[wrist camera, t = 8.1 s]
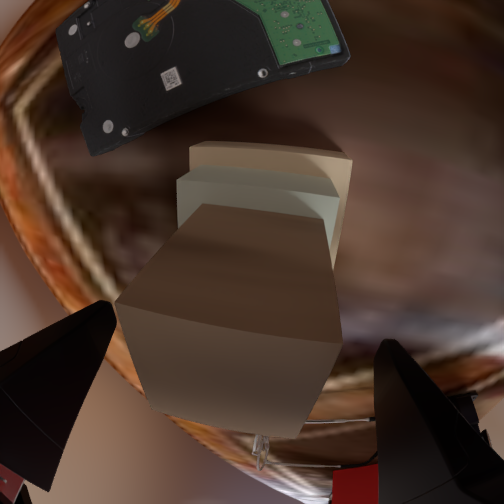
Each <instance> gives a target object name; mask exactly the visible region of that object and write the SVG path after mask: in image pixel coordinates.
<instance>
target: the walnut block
mask: <svg viewBox="0 0 504 504" xmlns="http://www.w3.org/2000/svg"><path fill="white" fill-rule="evenodd" d="M115 306H116V310H117V313H118V317H119V320H120V324H121V327H122V330H123V334H124V337H125V340H126V343H127V346H128V349H129V352H130V355H131V358H132V361H133V364H134V366H135V369H136V372H137V374H138V377H139V380H140V382H141V385H142V387H143V390H144V392H145V395H146V397H147V400H148V402H149V404H150V407H151V409H152V410H155V411H158V412H161V413H164V414H167V415H171V416H174V417H178V418H181V419H185V420H189V421H193V422H196V423H200V424H205V425H209V426H213V427H218V428H223V429H228V430H233V431H238V432H244V433H250V434H256V435H263V436H271V437H279V438H288V439H296V437H297V436H298V434H299V432H300V430H301V429H302V427H303V425H304V423H305V421H306V420H307V418H308V416H309V414H310V412H311V410H312V408H313V406H314V405H315V403H316V401H317V399H318V397H319V395H320V393H321V391H322V389H323V387H324V385H325V383H326V381H327V378H328V376H329V374H330V372H331V370H332V368H333V366H334V363H335V361H336V359H337V357H338V355H339V352H340V350H341V348H342V345H343V339H342V331H341V323H340V315H339V307H338V300H337V293H336V287H335V280H334V274H333V268H332V262H331V256H330V251H329V245H328V240H327V235H326V229H325V224H324V219H318V218H311V217H305V216H298V215H291V214H284V213H277V212H269V211H262V210H254V209H246V208H238V207H230V206H221V205H213V204H204V203H202V204H201V205H200V206H199V207H198V208H197V210H196V211H195V212H194V213H193V214H192V215H191V216H190V217H189V218H188V219H187V220H186V221H185V222H184V223H183V224H182V225H181V226H180V227H179V229H178V230H177V231H176V232H175V233H174V234H173V235H172V236H171V237H170V238H169V239H168V241H167V242H166V243H165V244H164V245H163V246H162V247H161V248H160V249H159V251H158V252H157V253H156V254H155V255H154V256H153V257H152V258H151V260H150V261H149V262H148V263H147V264H146V265H145V266H144V268H143V269H142V270H141V271H140V272H139V273H138V275H137V276H136V277H135V278H134V279H133V280H132V282H131V283H130V284H129V285H128V286H127V288H126V289H125V290H124V291H123V292H122V294H121V295H120V296H119V297H118V298H117V300H116V301H115Z"/></svg>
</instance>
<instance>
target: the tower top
mask: <svg viewBox="0 0 504 504" xmlns="http://www.w3.org/2000/svg"><path fill="white" fill-rule="evenodd" d="M339 201H340V197H339V195H338V193H337V191H336V189H335V186H334V184H333V182H332V180H331V179H330V178H324V177H317V176H311V175H303V174H296V173H288V172H280V171H271V170H262V169H252V168H242V167H230V166H217V165H200V166H198V167H196V168H195V169H193V170H192V171H190V172H188V173H187V174H185V175H184V176H182V177H180V178H179V179H177V214H178V229H179V227H180V226H181V225H182V224H183V223H184V222H185V221H186V220H187V219H188V218H189V217H190V216H191V215H192V214H193V213H194V212H195V211H196V210H197V208H198V207H199V206H200V205H201V204H202V203H204V204H213V205H221V206H230V207H238V208H246V209H254V210H262V211H269V212H277V213H284V214H291V215H298V216H305V217H311V218H318V219H324V224H325V229H326V235H327V240H328V245H329V250H330V245H331V241H332V236H333V231H334V226H335V221H336V216H337V211H338V206H339Z"/></svg>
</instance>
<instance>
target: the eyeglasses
mask: <svg viewBox="0 0 504 504" xmlns="http://www.w3.org/2000/svg"><path fill="white" fill-rule="evenodd" d="M362 420H363V421H375V417H369V418H364V419H355V420H346V419H339V420H306V421H305V423H340V422H346V421H362ZM257 439H258V441H257ZM260 440H262V441H261V444H260ZM264 443H265V450H266V449H267V450H266V455H265V459H264V462H263V465H262V467H261V468H260V469H259V459H260V453H261V450H263V444H264ZM259 445H260V446H259ZM265 450H263V451H265ZM268 450H269V436H264V437H263V439H262V435H259V438H258V435H256V436H255V440H254V445H253V452H256V451H258V453H257V454H254V453H253V452H252V455H257V456H258V457H257V470H259V471H261V470H262V469H263V467H264V465H265V464H274V465H286V466H302V467H340V468H344V467H358V466H362V465H365V464H367V463H369V462H370V461H371V460H373V459H374V458H375V457H376V456H377V455H378V451H377V452H376V453H375V454H374V455H373V456H372V457H371V458H370V459H369V460H368V461H366V462H364V463H361V464H352V465H338V466H325V465H305V464H290V463H279V462H270V461H268V460H266V459H267V455H268Z"/></svg>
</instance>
